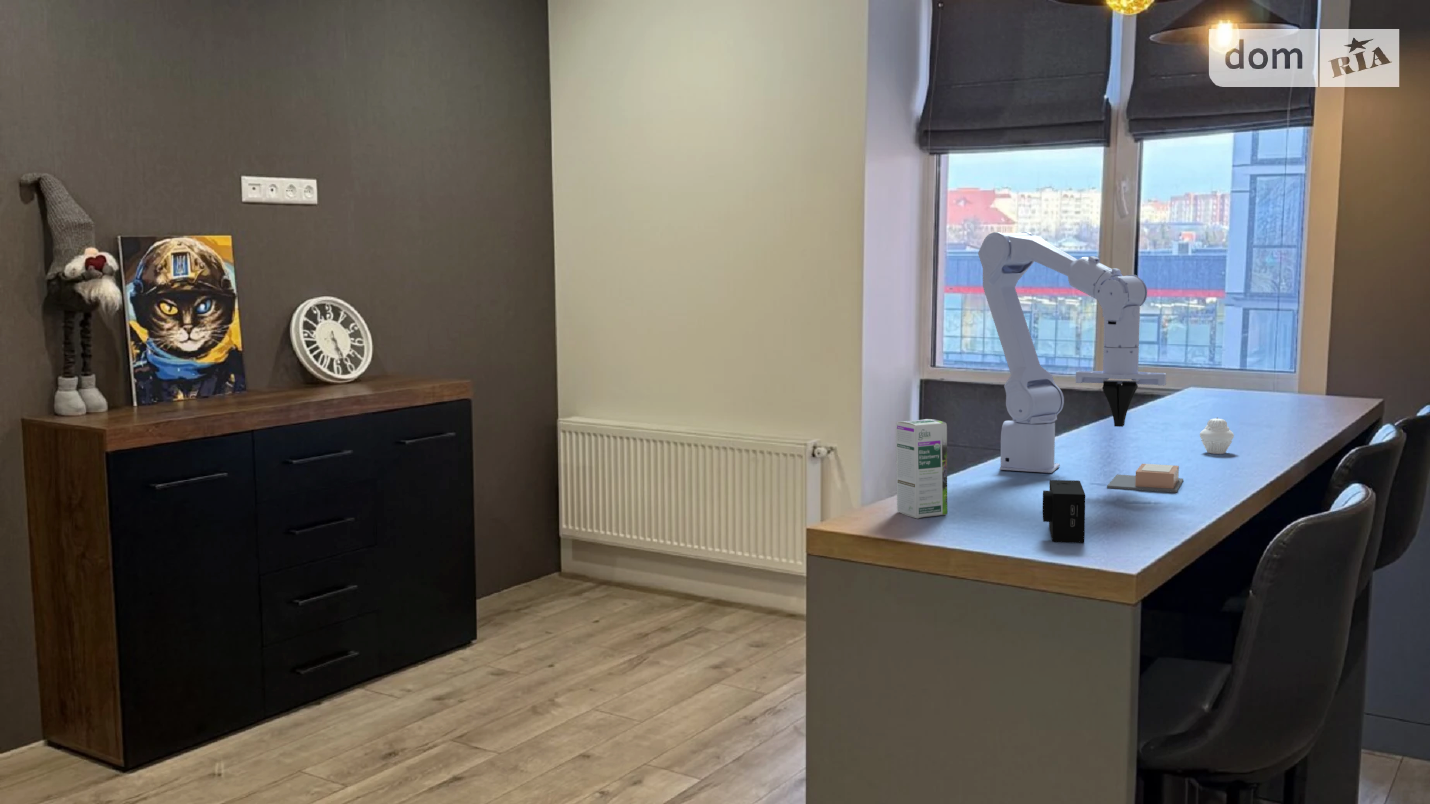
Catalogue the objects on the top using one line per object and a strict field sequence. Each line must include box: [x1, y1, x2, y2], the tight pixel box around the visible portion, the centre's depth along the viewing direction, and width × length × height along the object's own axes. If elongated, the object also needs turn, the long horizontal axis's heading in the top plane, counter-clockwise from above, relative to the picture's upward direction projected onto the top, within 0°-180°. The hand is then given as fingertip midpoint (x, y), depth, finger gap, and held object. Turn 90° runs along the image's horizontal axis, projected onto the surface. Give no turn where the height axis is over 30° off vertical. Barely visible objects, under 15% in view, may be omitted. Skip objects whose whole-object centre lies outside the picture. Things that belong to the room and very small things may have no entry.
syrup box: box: [895, 418, 948, 519], centre depth 183 cm, size 6×6×14 cm
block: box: [1135, 463, 1180, 489], centre depth 202 cm, size 3×8×6 cm
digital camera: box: [1042, 479, 1086, 544], centre depth 169 cm, size 10×5×7 cm, turn 167°
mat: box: [1106, 473, 1184, 494], centre depth 203 cm, size 11×11×1 cm
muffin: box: [1199, 417, 1235, 455], centre depth 232 cm, size 6×6×7 cm
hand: (1119, 425), depth 204 cm, fingers closed
